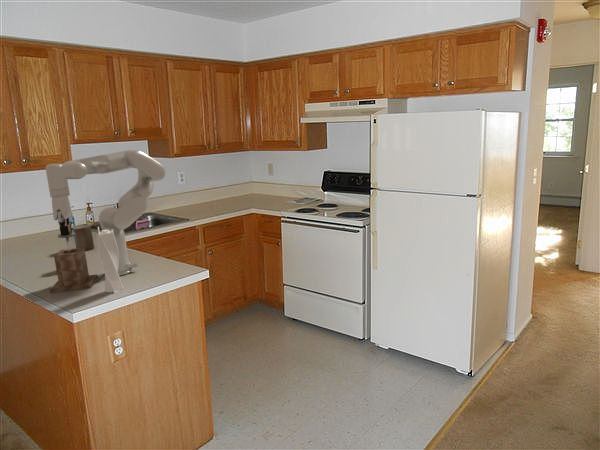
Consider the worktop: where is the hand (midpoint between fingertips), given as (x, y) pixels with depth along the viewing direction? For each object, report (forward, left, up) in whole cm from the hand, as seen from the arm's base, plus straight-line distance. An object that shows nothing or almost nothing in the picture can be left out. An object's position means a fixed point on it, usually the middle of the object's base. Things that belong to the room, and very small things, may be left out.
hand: (66, 233), depth 201 cm
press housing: (0, 0, -24) cm, 24 cm away
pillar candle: (+11, -67, -24) cm, 72 cm away
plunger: (0, 0, -14) cm, 14 cm away
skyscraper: (-19, +14, -24) cm, 34 cm away
